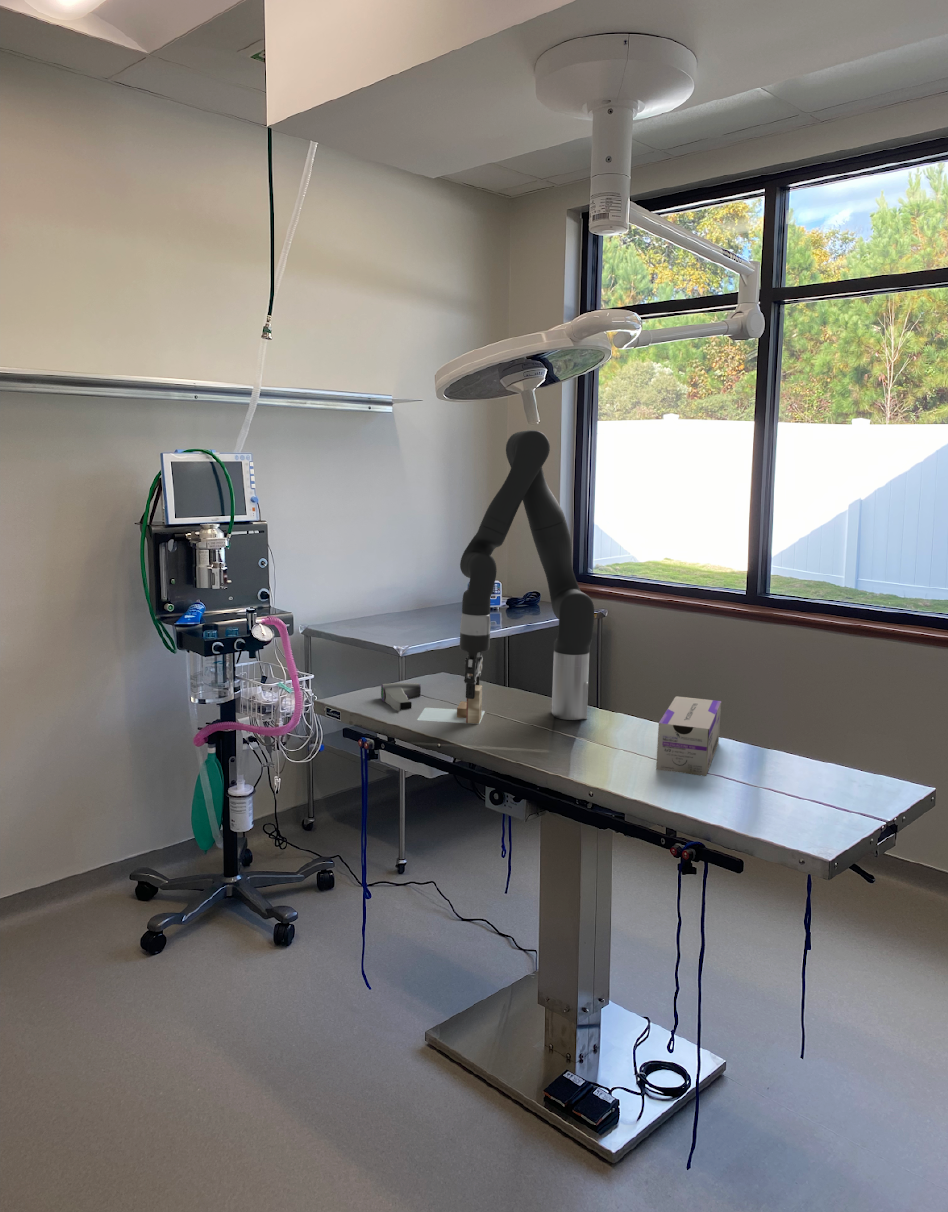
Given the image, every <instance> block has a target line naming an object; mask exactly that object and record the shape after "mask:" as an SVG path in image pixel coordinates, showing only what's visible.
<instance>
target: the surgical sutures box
mask: <svg viewBox="0 0 948 1212" xmlns="http://www.w3.org/2000/svg"><path fill="white" fill-rule="evenodd" d="M721 707H722V700H714V699H707V698H706V699H705V698H695V697H686V696H677V695H676V696H675V697H674V698H673V699H672V702H671V703H670V705H669V706H668V708H667V709H666V711H665V712H664V714H663V715H662V717H661V718H660V720H659V722H658V730H657V746H656V764H655V765H656V766H655V768H656V769H655V770H658V771H664V772H673V773H679V774H680V773H681V774H688V775H694V776H695V775H696V776H701V775H702V776H703V777H707V774H708V773H709V769H710V767H711V765H712V761H713V759H714V757H715V754H716V751H717V748H718V746H719V741H720V725H721V724H720V723H721V712H722V711H721V709H722V708H721ZM702 776H701V777H702Z"/></svg>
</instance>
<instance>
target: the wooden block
mask: <svg viewBox="0 0 948 1212" xmlns="http://www.w3.org/2000/svg"><path fill="white" fill-rule="evenodd" d="M482 701H483V685H481V684H479V685H475V697H474V699H467V698H466V702H467V707H466V723H465V724H471V723H476V724H475V725H480V724H479V722H480V720H481V721H482V719H481V714H482V711H483V710H482V707H483V705H482ZM480 723H481V722H480Z"/></svg>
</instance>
